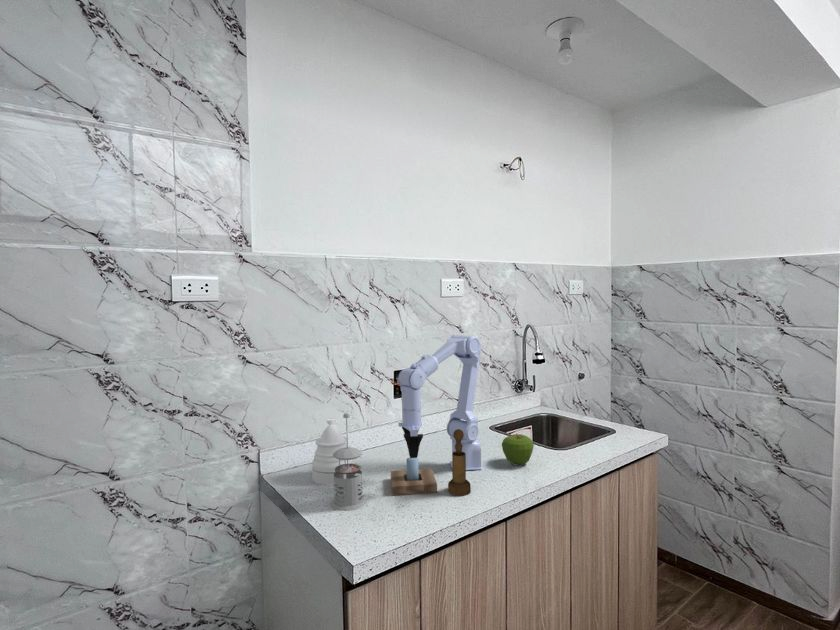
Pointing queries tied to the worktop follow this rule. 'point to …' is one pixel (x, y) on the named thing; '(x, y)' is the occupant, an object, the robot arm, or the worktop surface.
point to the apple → (517, 449)
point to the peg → (412, 469)
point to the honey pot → (328, 454)
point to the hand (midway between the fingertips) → (412, 453)
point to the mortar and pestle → (459, 469)
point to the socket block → (413, 483)
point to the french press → (347, 479)
